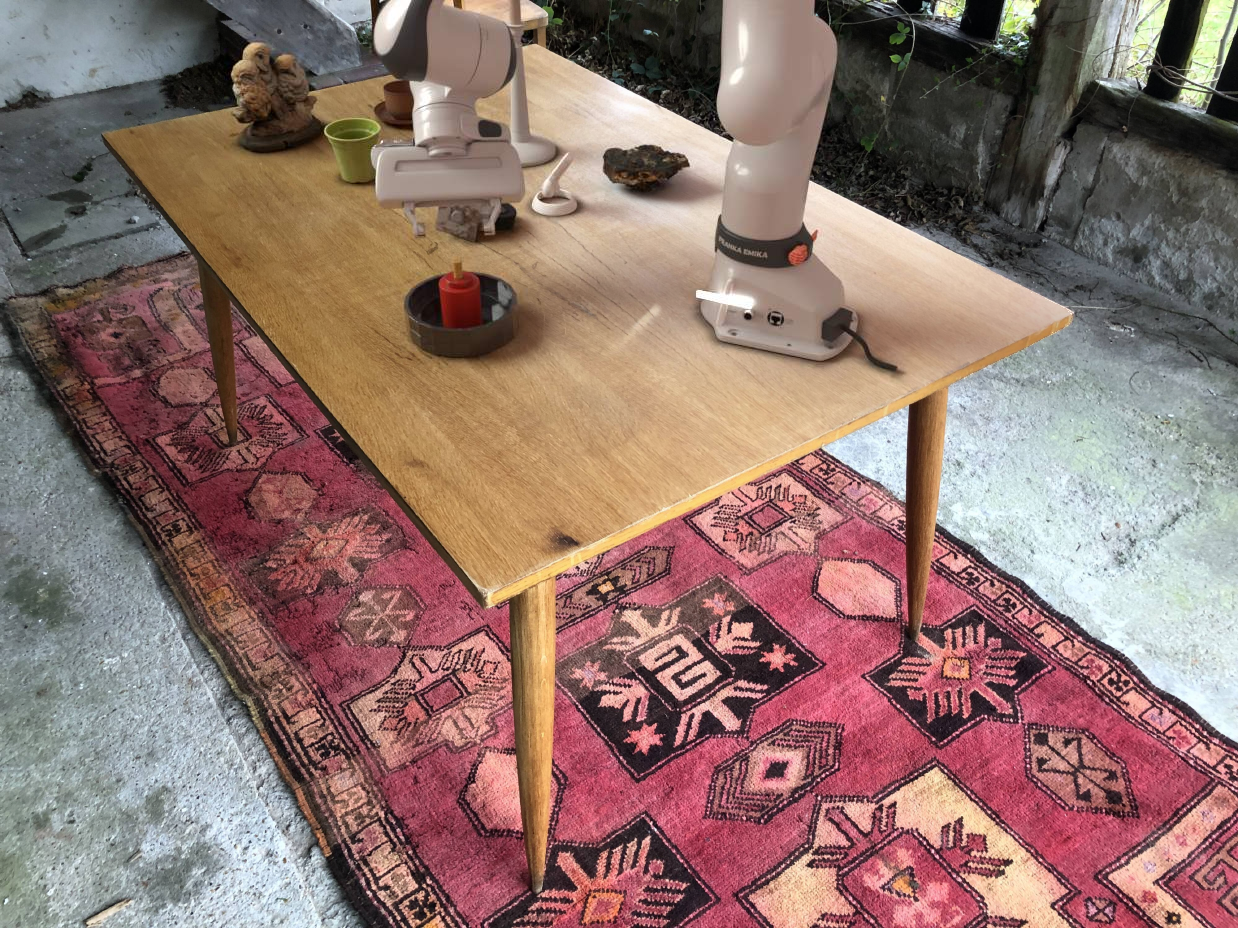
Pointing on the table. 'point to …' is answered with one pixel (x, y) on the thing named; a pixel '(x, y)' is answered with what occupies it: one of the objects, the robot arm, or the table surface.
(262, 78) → the owl figurine
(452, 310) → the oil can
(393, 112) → the cup and saucer
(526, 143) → the candlestick
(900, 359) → the table surface
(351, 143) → the plant pot
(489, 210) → the caster wheel
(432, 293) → the bowl
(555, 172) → the hook
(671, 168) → the fossil rock
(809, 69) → the robot arm
